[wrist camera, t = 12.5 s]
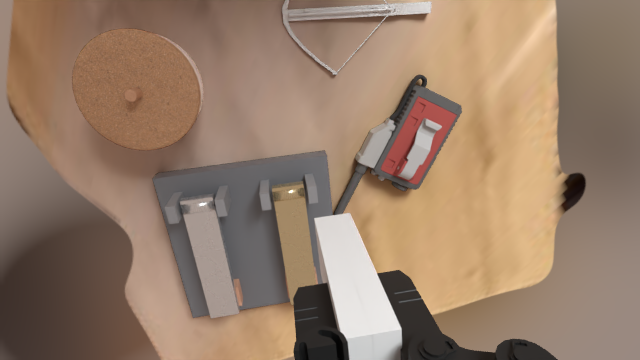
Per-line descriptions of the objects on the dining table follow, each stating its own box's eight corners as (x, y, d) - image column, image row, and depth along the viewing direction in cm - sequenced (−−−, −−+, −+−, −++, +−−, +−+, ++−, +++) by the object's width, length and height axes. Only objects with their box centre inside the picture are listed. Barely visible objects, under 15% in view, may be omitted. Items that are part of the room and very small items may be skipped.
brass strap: (271, 184, 42) (271, 189, 40) (302, 180, 42) (303, 185, 40) (290, 298, 47) (291, 306, 46) (317, 294, 48) (318, 302, 46)
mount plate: (157, 172, 43) (140, 192, 38) (324, 150, 45) (332, 166, 39) (196, 307, 51) (186, 340, 45) (338, 284, 52) (346, 313, 47)
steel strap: (182, 197, 41) (179, 202, 39) (214, 192, 41) (211, 198, 40) (212, 311, 47) (210, 320, 45) (240, 306, 47) (239, 315, 45)
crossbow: (287, 76, 42) (287, 78, 41) (277, -51, 38) (276, -55, 36) (423, 67, 43) (430, 68, 41) (429, -59, 38) (436, -64, 36)
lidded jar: (188, 147, 43) (167, 175, 34) (93, 102, 40) (43, 120, 31) (228, 64, 40) (216, 71, 31) (130, 9, 37) (86, -1, 28)
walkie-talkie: (399, 64, 43) (327, 209, 48) (413, 67, 38) (332, 226, 44) (460, 95, 45) (384, 230, 50) (479, 101, 41) (394, 247, 46)
